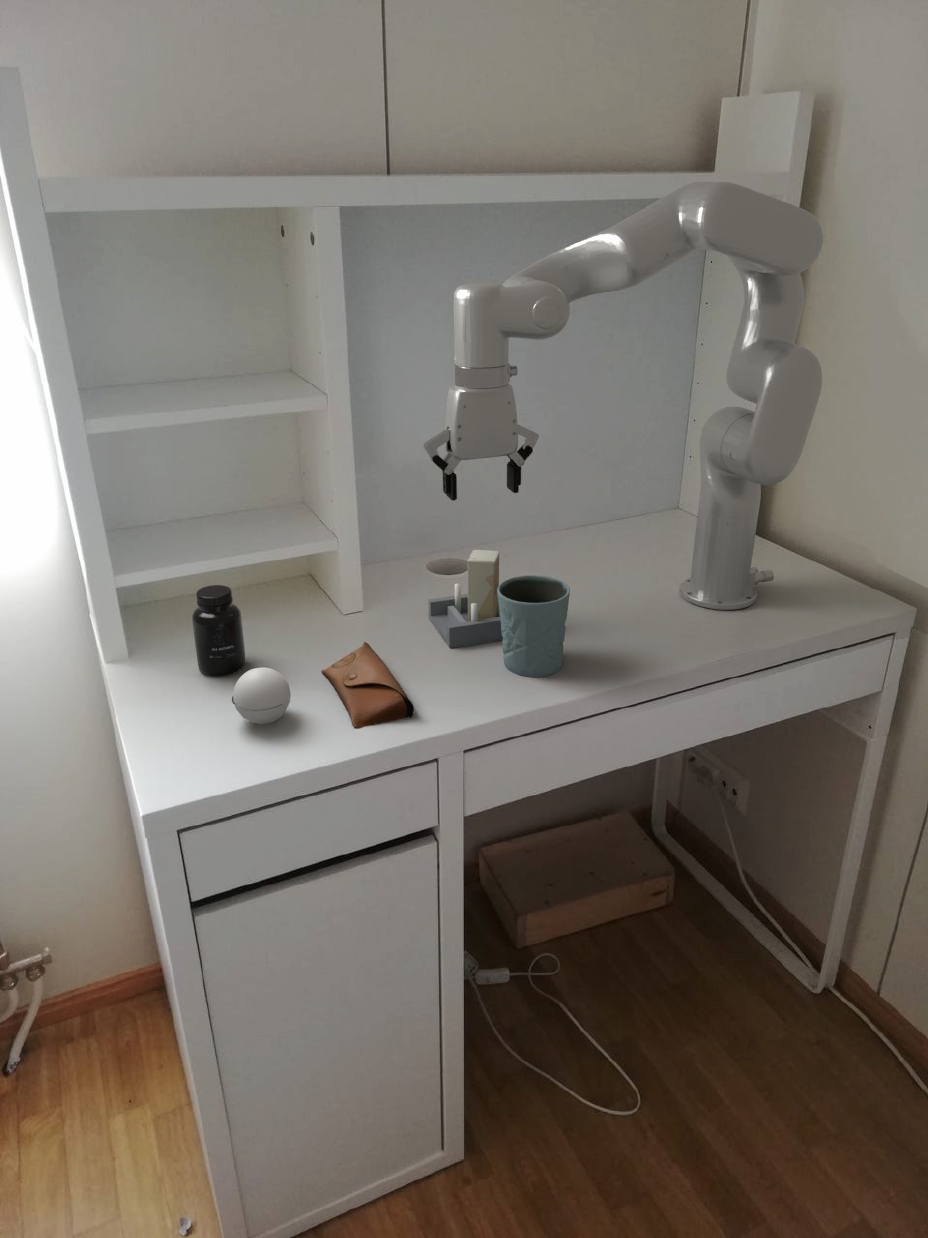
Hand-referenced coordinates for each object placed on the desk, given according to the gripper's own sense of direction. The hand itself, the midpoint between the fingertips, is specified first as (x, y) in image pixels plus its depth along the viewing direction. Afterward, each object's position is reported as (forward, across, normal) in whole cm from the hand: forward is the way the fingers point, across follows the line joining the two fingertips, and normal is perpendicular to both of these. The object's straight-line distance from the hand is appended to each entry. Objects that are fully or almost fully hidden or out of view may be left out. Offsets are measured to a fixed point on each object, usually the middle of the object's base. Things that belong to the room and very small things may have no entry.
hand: (482, 494), depth 135 cm
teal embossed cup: (+22, -2, +14) cm, 26 cm away
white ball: (+22, +37, +18) cm, 47 cm away
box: (+21, 0, 0) cm, 21 cm away
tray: (+22, 0, 0) cm, 22 cm away
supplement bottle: (+22, +40, 0) cm, 46 cm away
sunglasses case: (+22, +22, +14) cm, 35 cm away
